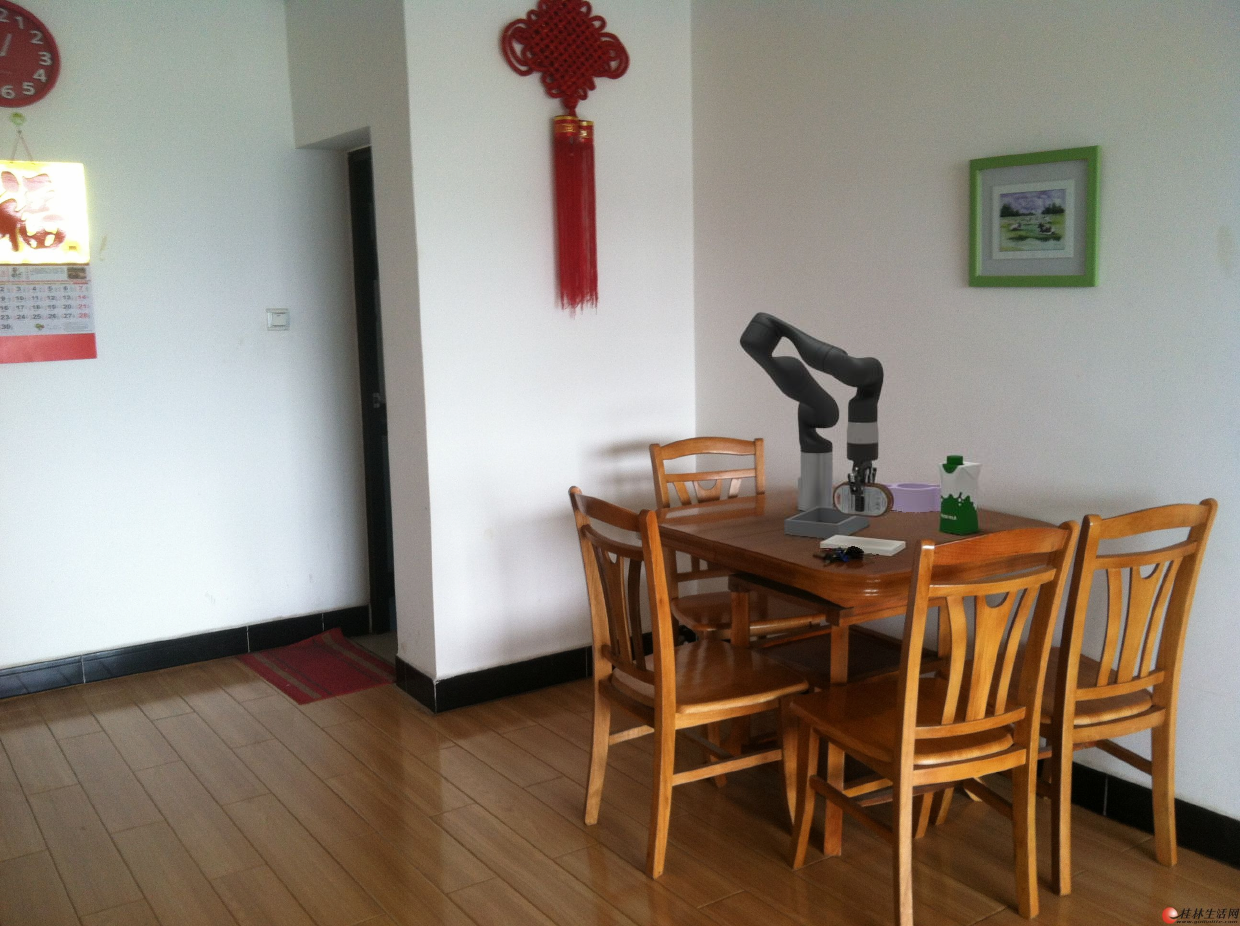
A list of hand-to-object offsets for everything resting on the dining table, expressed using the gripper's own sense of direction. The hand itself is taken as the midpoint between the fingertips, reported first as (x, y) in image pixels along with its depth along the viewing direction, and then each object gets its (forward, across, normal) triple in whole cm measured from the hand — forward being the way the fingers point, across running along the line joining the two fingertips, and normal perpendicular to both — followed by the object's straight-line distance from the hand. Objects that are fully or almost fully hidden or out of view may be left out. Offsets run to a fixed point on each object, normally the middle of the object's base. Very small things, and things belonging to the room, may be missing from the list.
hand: (862, 510), depth 261 cm
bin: (+9, +16, +16) cm, 24 cm away
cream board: (+9, 0, 0) cm, 9 cm away
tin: (+2, 0, 0) cm, 2 cm away
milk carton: (+10, +29, -15) cm, 34 cm away
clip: (+10, +53, +8) cm, 55 cm away
